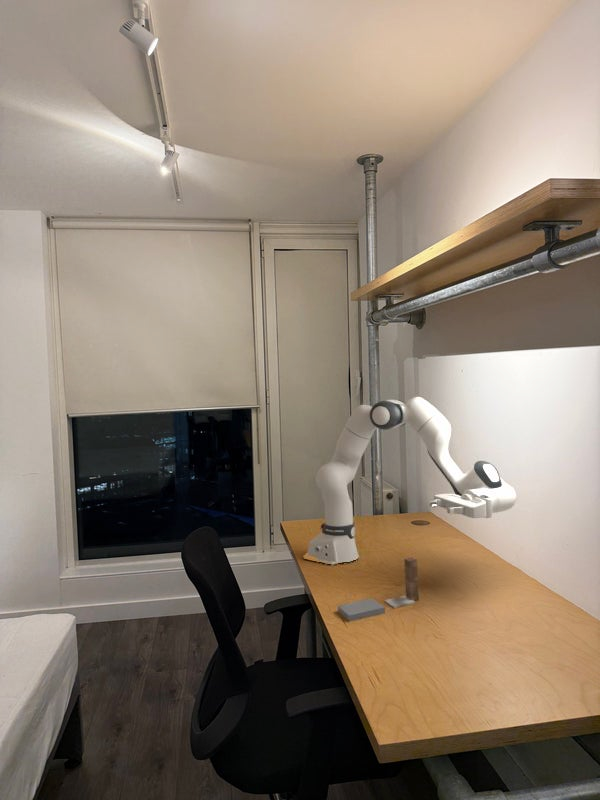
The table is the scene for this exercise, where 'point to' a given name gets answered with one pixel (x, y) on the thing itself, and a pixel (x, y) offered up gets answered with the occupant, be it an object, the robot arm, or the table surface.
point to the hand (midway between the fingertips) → (439, 507)
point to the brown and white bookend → (407, 586)
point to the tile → (361, 609)
